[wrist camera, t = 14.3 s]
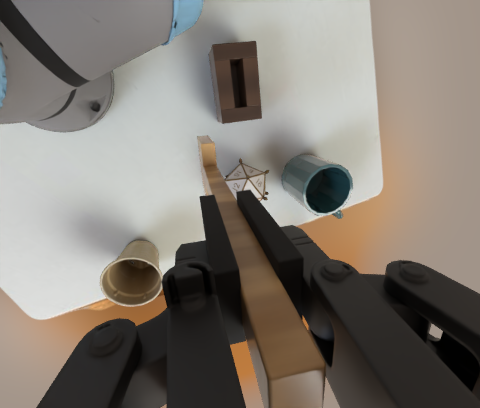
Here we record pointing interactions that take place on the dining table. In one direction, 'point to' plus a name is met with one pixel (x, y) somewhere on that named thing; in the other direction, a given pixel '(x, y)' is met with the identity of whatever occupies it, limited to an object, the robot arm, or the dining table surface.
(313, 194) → the mug
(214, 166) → the spatula
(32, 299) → the dining table surface
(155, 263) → the flower pot
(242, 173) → the twenty-sided die
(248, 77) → the spatula holder
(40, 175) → the dining table surface
